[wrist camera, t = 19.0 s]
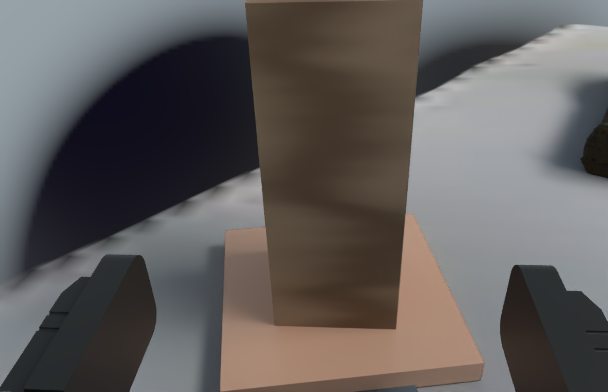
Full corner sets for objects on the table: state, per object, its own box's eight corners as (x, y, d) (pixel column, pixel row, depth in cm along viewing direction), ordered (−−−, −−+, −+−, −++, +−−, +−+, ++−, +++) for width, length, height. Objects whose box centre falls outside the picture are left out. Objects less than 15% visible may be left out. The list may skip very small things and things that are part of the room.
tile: (411, 229, 29) (413, 213, 29) (480, 380, 21) (484, 363, 20) (227, 245, 29) (225, 230, 28) (223, 408, 20) (220, 391, 20)
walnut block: (388, 252, 26) (407, -35, 19) (395, 329, 22) (422, -1, 15) (286, 250, 27) (267, -31, 20) (274, 326, 22) (244, 2, 15)
